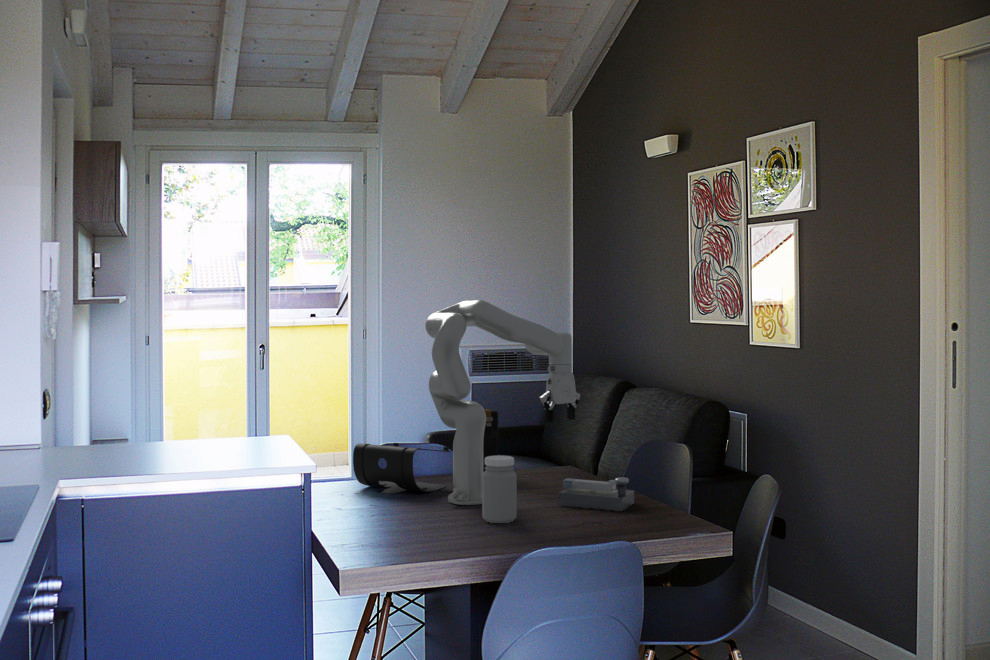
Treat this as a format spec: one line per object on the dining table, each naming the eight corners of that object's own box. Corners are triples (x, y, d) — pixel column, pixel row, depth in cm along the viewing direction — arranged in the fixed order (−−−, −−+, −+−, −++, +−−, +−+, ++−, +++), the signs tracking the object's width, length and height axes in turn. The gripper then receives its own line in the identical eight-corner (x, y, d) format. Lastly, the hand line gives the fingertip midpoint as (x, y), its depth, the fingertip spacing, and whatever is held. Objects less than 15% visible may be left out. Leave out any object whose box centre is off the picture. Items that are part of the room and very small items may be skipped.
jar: (522, 519, 257) (522, 456, 257) (505, 526, 249) (505, 461, 248) (493, 515, 262) (493, 453, 262) (475, 522, 254) (475, 458, 253)
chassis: (621, 511, 268) (622, 488, 268) (559, 505, 276) (559, 482, 276) (634, 503, 279) (634, 481, 279) (573, 497, 288) (573, 476, 288)
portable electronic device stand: (350, 490, 299) (350, 444, 299) (390, 479, 320) (390, 436, 320) (415, 498, 287) (415, 449, 287) (452, 486, 308) (452, 441, 308)
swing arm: (626, 493, 272) (626, 480, 272) (562, 487, 280) (562, 474, 280) (630, 490, 275) (630, 477, 275) (567, 485, 284) (567, 472, 284)
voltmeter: (461, 474, 330) (461, 406, 330) (482, 473, 334) (482, 406, 333) (478, 482, 316) (478, 411, 315) (500, 480, 319) (500, 409, 319)
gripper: (548, 371, 292) (548, 423, 293) (586, 369, 303) (586, 419, 303) (533, 370, 298) (533, 421, 299) (571, 368, 309) (571, 417, 309)
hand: (560, 420), depth 301 cm, fingers open, 9 cm apart
